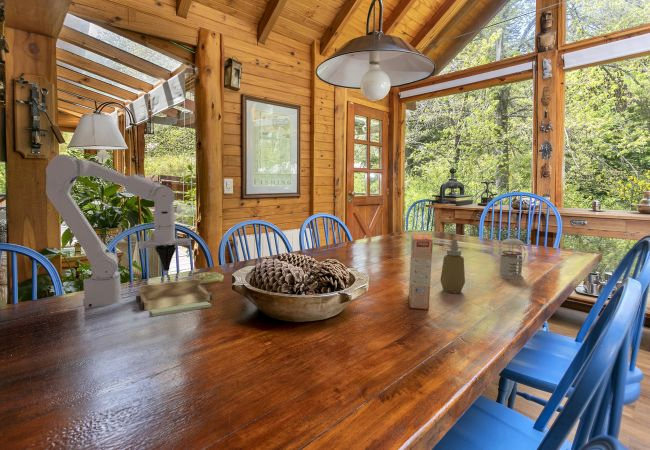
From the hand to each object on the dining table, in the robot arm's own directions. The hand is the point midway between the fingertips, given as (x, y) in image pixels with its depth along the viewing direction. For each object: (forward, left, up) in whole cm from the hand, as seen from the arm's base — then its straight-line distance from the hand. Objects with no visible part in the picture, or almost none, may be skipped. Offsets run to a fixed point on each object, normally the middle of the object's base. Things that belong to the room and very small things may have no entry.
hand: (166, 270), depth 118 cm
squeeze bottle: (+85, -38, -10) cm, 94 cm away
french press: (+123, -36, -10) cm, 129 cm away
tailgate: (+1, -12, -8) cm, 14 cm away
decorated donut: (+16, +12, -10) cm, 22 cm away
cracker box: (+66, -41, -10) cm, 78 cm away
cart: (+1, -6, -9) cm, 11 cm away
